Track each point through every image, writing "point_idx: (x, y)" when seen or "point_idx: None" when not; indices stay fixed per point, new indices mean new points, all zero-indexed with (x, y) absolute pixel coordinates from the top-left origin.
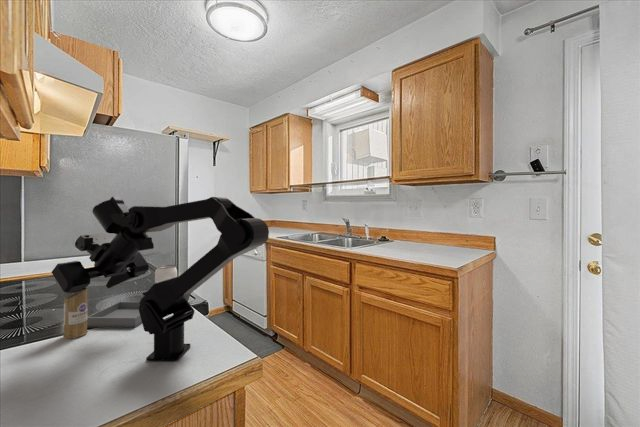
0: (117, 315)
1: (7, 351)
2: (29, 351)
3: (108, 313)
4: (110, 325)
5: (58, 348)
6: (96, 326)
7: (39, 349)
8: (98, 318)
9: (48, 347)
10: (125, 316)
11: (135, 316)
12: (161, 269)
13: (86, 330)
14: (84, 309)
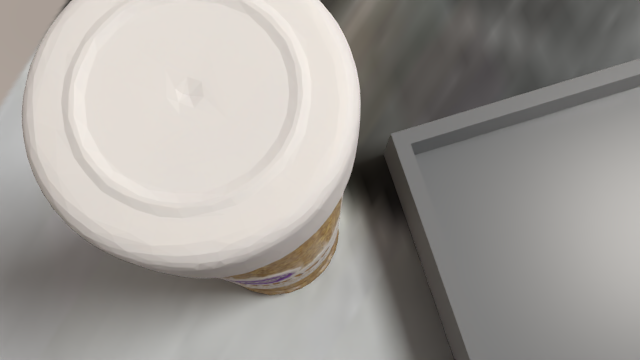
0: (604, 194)
1: (17, 92)
2: (42, 206)
3: (596, 98)
4: (448, 335)
5: (109, 330)
6: (412, 231)
7: (74, 233)
8: (425, 240)
9: (105, 255)
10: (617, 274)
11: None
12: None
13: (312, 276)
14: (275, 281)
